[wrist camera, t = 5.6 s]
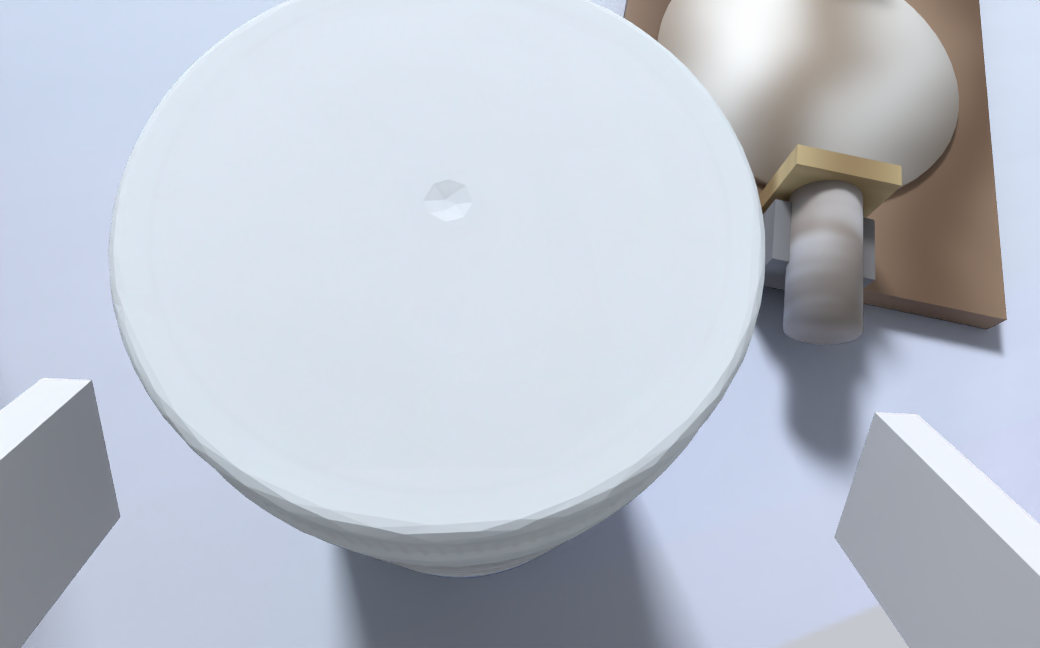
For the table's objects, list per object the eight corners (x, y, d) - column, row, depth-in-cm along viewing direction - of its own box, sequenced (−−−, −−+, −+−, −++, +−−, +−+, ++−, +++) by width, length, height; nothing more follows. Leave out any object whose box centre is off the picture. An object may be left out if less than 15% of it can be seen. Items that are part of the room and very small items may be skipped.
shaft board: (570, 314, 25) (592, 258, 21) (652, -144, 34) (678, -248, 30) (992, 402, 25) (1102, 365, 21) (956, -80, 34) (1026, -174, 30)
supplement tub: (652, 412, 24) (910, 180, 10) (482, 646, 21) (520, 768, 7) (444, 253, 25) (420, -134, 12) (256, 447, 22) (-74, 230, 9)
